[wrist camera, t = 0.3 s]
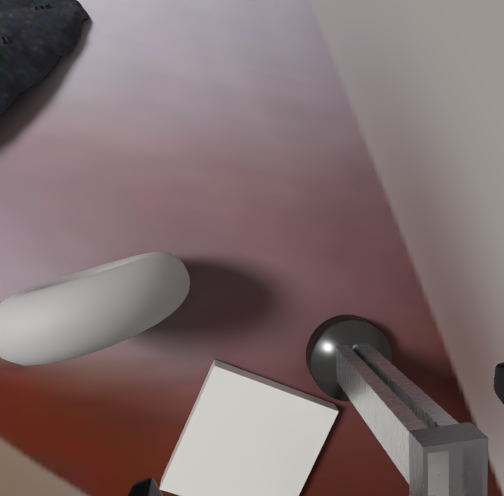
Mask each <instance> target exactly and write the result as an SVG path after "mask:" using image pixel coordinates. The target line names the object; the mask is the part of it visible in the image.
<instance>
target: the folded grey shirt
mask: <svg viewBox="0 0 504 496" xmlns="http://www.w3.org/2000/svg"><path fill="white" fill-rule="evenodd" d="M88 18H89V17H88V14H87V13H86V11H85V10H84V9H83V8H82V6H81V5H80V3H79V2H78V1H76V0H0V115H2V114H3V113H4V110H5V109H7V108H8V107H10V106H11V104H12V103H13V101H14V100H15V99H16V98H18V96H17V94H19V93H22V92H23V91H25V90H27V89H28V88H30V87H32V86H34V85H36V84H37V83H39V82H40V81H42V80H43V79H44V78H45V77H46V76H47V74H48V73H49V71H50V69H51V68H54V67H55V65H56V64H57V63H58V62H59V60H60V58H61V57H62V56H65V55H67V54H68V53H69V52H70V51H72V50H73V46H74V43H75V42H76V41H77V40H78V39H79V36H80V26H81V22H82V21H83V20H85V19H88Z"/></svg>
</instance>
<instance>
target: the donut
mask: <svg viewBox="0 0 504 496" xmlns="http://www.w3.org/2000/svg"><path fill="white" fill-rule="evenodd" d="M189 287H190V279H189V274H188V272H187V270H186V268H185V266H184V264H183V262H182V261H181V260H180V259H179V258H178V257H176V256H174V255H172V254H170V253H166V252H152V253H145V254H141V255H136V256H132V257H128V258H124V259H120V260H117V261H113V262H109V263H106V264H102V265H99V266H96V267H92V268H89V269H85V270H82V271H79V272H76V273H72V274H69V275H66V276H63V277H60V278H57V279H54V280H51V281H48V282H45V283H42V284H39V285H36V286H33V287H31V288H28V289H26V290H23V291H21V292H19V293H16V294H14V295H12V296H10V297H8V298H6V299H5V300H4V301H3V302H2V303H1V304H0V357H1V358H3V359H5V360H8V361H10V362H14V363H17V364H21V365H39V364H49V363H57V362H61V361H65V360H69V359H73V358H77V357H81V356H84V355H87V354H90V353H92V352H95V351H98V350H101V349H104V348H107V347H110V346H112V345H114V344H117V343H119V342H121V341H124V340H126V339H128V338H131V337H133V336H135V335H137V334H139V333H141V332H143V331H145V330H147V329H149V328H150V327H152V326H154V325H156V324H158V323H159V322H161V321H162V320H163V319H165V318H166V317H168V316H169V315H171V314H172V313H173V312H174V311H175V310H176V309H177V308H178V307H179V306H180V305H181V304H182V302H183V301H184V300H185V298H186V296H187V294H188V292H189Z"/></svg>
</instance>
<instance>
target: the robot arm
mask: <svg viewBox="0 0 504 496" xmlns="http://www.w3.org/2000/svg"><path fill="white" fill-rule="evenodd" d="M494 390H495V393H496V394H497V396H498V397H499V399H500V400H501V401H502V403H503V404H504V362H503V363H500V364H498V365H497V366H496V369H495V378H494ZM128 496H163V495H162V493H161V491H160V490H159V488H158V486H157V484H156V483H155V481H154V479H153V478H147V479H144V480H141V481H138V482H136V483H135V484H134V485H133V486H132V488H131V490H130V492H129V494H128Z"/></svg>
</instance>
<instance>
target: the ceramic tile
mask: <svg viewBox="0 0 504 496" xmlns="http://www.w3.org/2000/svg"><path fill="white" fill-rule="evenodd" d="M338 412H339V411H338V409H337V408H336V406H335V404H333V403H331V402H328V401H325V400H322V399H320V398H317V397H314V396H312V395H309V394H306V393H304V392H301V391H298V390H296V389H293V388H290V387H288V386H285V385H282V384H279V383H277V382H274V381H271V380H269V379H266V378H263V377H261V376H258V375H255V374H253V373H250V372H247V371H244V370H242V369H239V368H236V367H234V366H231V365H228V364H226V363H223V362H220V361H218V360H215V359H214V361H213V364H212V366H211V368H210V370H209V373H208V375H207V377H206V380H205V382H204V384H203V386H202V389H201V391H200V393H199V395H198V398H197V400H196V402H195V404H194V407H193V409H192V411H191V413H190V416H189V418H188V420H187V422H186V425H185V427H184V429H183V431H182V434H181V436H180V438H179V440H178V443H177V445H176V447H175V449H174V452H173V454H172V456H171V458H170V461H169V463H168V465H167V467H166V470H165V472H164V474H163V476H162V479H161V484H160V490H163V491H167V492H170V493H173V494H177V495H180V496H299V494H300V492H301V490H302V488H303V486H304V484H305V482H306V480H307V477H308V475H309V473H310V471H311V469H312V467H313V465H314V463H315V461H316V459H317V456H318V454H319V452H320V450H321V448H322V446H323V444H324V442H325V440H326V438H327V435H328V433H329V431H330V429H331V427H332V425H333V423H334V421H335V419H336V417H337V414H338Z"/></svg>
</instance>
